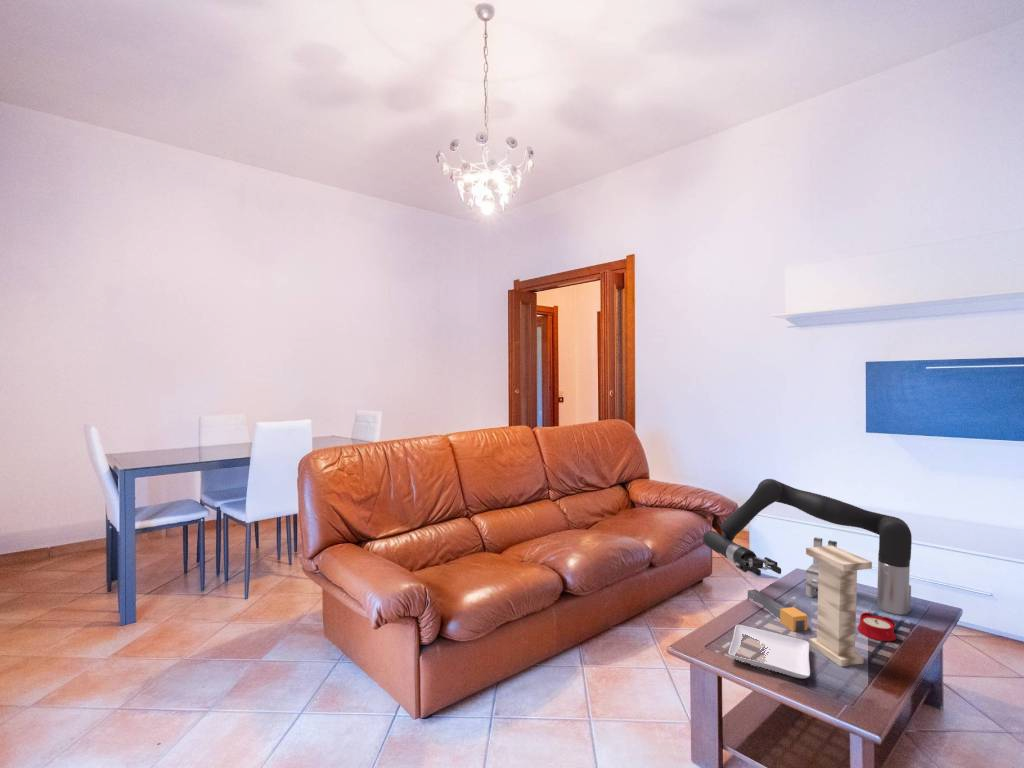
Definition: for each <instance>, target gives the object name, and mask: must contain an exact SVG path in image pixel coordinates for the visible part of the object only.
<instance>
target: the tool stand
mask: <svg viewBox="0 0 1024 768" xmlns="http://www.w3.org/2000/svg"><path fill="white" fill-rule="evenodd" d="M805 555H807V556H809V557H812V559H813V558H815V559H818V560H819V573H818V592H817V621H816V625H817V626H816V627H817V628H816V637H812V638H809V639H808V642H809V647H812V648H813V649H815V650H816V651H817V652H819V653H821V655H823V656H825V657H826V658H828V659H829V660H831V661H832V662H834V663H835V664H837V665H838V666H839V667H848V666H855V665H860V664H864V659H865V658H864V656H863V655H861V654H860V653H859V652H856V631H857V630H856V627H857V625H856V624H857V593H858V592H857V590H858V589H857V588H858V587H857V586H858V584H857V583H858V571H862V570H870V569H871V570H872V569H873V568H872V567H873V562H872V561H870V560H869V559H866V558H863V557H862V556H858V555H856V554H854V553H851V552H849V551H847V550H844V549H841V548H839V547H838V546H837V547H835V546H828V545H824V546H823V545H822V547H814V546H813V547H812V546H811V547H805Z"/></svg>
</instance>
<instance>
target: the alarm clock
mask: <svg viewBox="0 0 1024 768" xmlns="http://www.w3.org/2000/svg"><path fill="white" fill-rule="evenodd" d="M895 628H896V624H895V621H894V620H893V619H891V618H889V617H885V616H883V617H880V616H877V615H873V614H872V613H870V612H862V613H861V614H860V616H859V624H858V626H857V630H858V632H859V633H860V634H862V635H863V636H865V637H868V638H871V639H873V640H874V641H876V642H878V641H880V642H881V641H883V642H894V641H895V640H896V639H897V635H896V633H895Z"/></svg>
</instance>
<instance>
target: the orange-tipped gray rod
mask: <svg viewBox="0 0 1024 768" xmlns="http://www.w3.org/2000/svg"><path fill="white" fill-rule="evenodd" d="M753 596H754V597H753ZM749 598H751V599H753V601H755V602H758V603H760V604H762V605H763V606H764V607H765V608H766V609H768V610H769V611H770V612H771V613H773V614H774V615H775V616H776V617H778V618H779V619H780V620H779V623H780V622H782V623H783V624H784V625H785V626H784V625H783V624H782V625H783V626H784V627H786V626H787V627H788V628H787V627H786V628H787V629H788V630H790V631H792V632H800V631H807V630H808V614H806V613H804V612H802V611H801V610H799V609H798V608H796V607H794V606H791V607H785V606H783V605H781V603H778V602H777V601H775V600H773V599H772V598H770V597H769V596H767V595H765V594H764V593H762V592H760V591H759V590H758V589H747V600H748V599H749Z"/></svg>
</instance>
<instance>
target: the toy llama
mask: <svg viewBox="0 0 1024 768" xmlns="http://www.w3.org/2000/svg"><path fill="white" fill-rule="evenodd" d="M822 546H823V538H821V537H816V536H815V537H814V538H813V547H822ZM827 546H835V547H837V548H838V541H836V540H830V539H829V540H828V541H827ZM818 573H819V560H818V559H815V558H813V557H812V563H811V565H809V567H808V568H807V569H806V570H805V595H806V596H805V597H808V596H810V597H809V598H811V597H813V596H814V597H815V594H816V593H815V592H817V591H818ZM815 590H816V591H815ZM814 597H813V598H814Z"/></svg>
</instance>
